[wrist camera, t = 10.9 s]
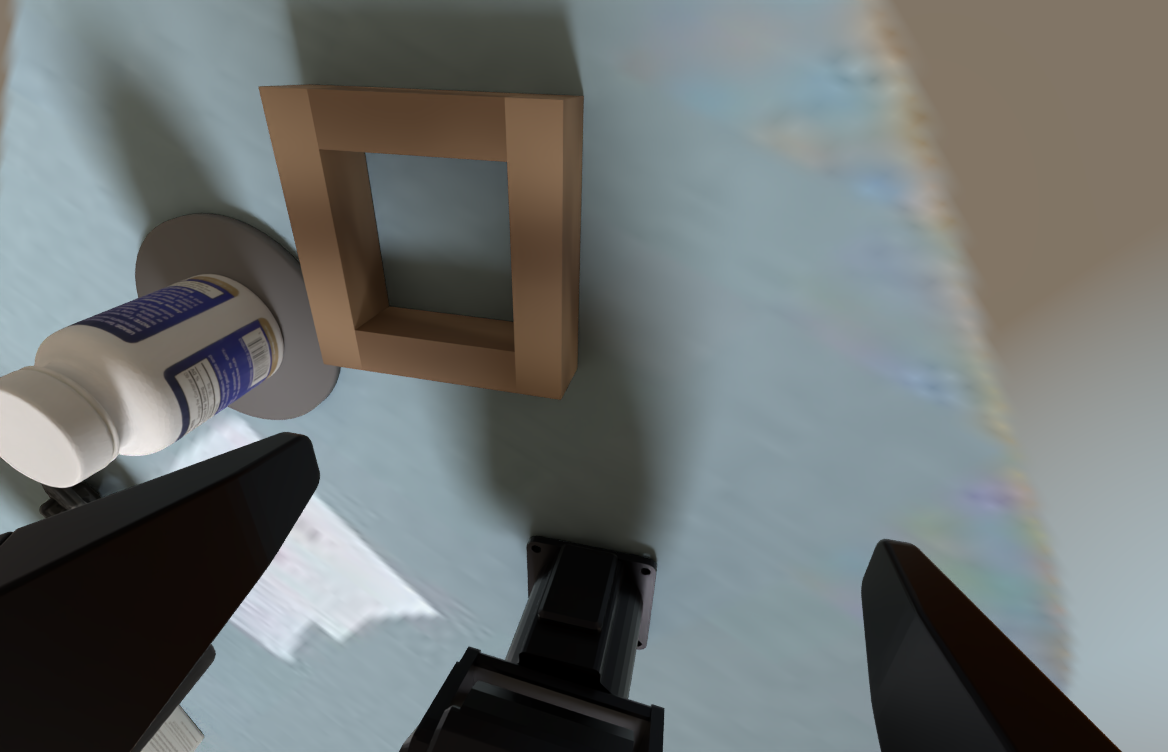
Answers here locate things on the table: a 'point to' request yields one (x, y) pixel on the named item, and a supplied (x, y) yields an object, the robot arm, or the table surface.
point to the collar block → (351, 247)
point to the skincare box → (175, 735)
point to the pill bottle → (135, 378)
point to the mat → (270, 277)
